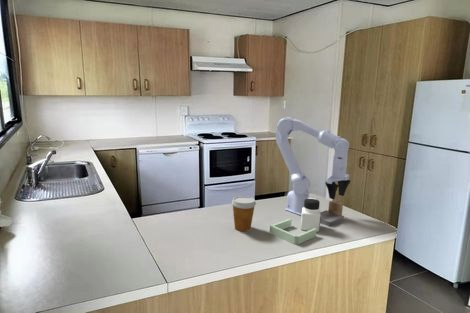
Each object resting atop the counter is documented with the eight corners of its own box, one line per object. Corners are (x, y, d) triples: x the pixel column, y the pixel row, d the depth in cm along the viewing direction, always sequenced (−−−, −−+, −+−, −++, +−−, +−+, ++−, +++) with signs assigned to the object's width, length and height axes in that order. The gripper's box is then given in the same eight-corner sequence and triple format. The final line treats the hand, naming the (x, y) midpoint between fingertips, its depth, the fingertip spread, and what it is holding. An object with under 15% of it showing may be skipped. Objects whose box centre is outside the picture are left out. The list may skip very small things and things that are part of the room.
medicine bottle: (319, 232, 128) (321, 203, 125) (300, 230, 129) (303, 201, 127) (318, 225, 135) (320, 197, 132) (300, 223, 136) (303, 196, 134)
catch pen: (269, 232, 125) (270, 225, 125) (289, 225, 133) (289, 218, 133) (296, 245, 116) (297, 237, 115) (316, 236, 124) (316, 228, 123)
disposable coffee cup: (257, 225, 132) (258, 197, 129) (250, 235, 123) (252, 205, 121) (235, 222, 135) (236, 194, 132) (227, 230, 126) (228, 201, 124)
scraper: (311, 220, 140) (312, 204, 139) (327, 213, 148) (329, 199, 147) (329, 226, 133) (331, 210, 132) (345, 219, 142) (347, 204, 140)
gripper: (338, 170, 132) (335, 202, 134) (356, 166, 141) (353, 196, 144) (323, 167, 137) (321, 198, 140) (342, 163, 146) (339, 192, 149)
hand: (336, 196), depth 142 cm, fingers open, 7 cm apart
